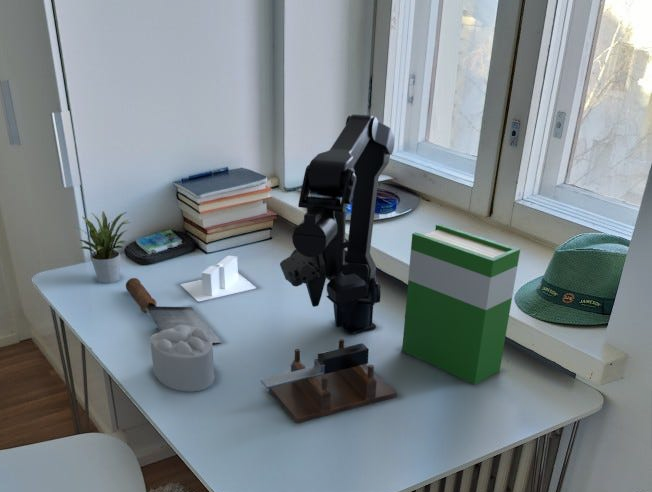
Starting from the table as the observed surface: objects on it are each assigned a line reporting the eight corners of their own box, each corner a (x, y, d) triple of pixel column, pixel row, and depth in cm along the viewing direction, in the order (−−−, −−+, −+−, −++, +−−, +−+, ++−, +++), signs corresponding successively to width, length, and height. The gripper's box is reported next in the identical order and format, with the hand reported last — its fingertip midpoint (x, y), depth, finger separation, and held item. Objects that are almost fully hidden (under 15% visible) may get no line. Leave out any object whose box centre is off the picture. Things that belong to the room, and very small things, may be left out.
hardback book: (402, 350, 154) (412, 233, 140) (426, 338, 157) (439, 223, 144) (474, 384, 142) (493, 260, 129) (499, 370, 146) (520, 249, 132)
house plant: (151, 268, 193) (144, 203, 183) (132, 291, 181) (123, 224, 172) (97, 265, 195) (88, 201, 186) (75, 288, 184) (64, 221, 175)
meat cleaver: (222, 342, 159) (221, 324, 157) (170, 354, 156) (168, 336, 153) (170, 284, 185) (168, 268, 183) (124, 293, 182) (122, 277, 179)
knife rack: (364, 366, 149) (366, 332, 145) (397, 396, 140) (400, 360, 135) (268, 390, 143) (268, 354, 139) (296, 423, 134) (296, 386, 129)
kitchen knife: (360, 357, 141) (361, 342, 140) (368, 364, 139) (369, 349, 137) (260, 381, 135) (259, 366, 134) (266, 389, 133) (266, 374, 132)
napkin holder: (236, 271, 189) (235, 249, 186) (257, 288, 181) (256, 264, 177) (179, 284, 184) (177, 261, 181) (198, 302, 175) (196, 278, 172)
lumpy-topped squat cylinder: (193, 354, 155) (190, 314, 151) (227, 380, 146) (225, 340, 141) (147, 369, 151) (142, 329, 146) (179, 398, 142) (174, 356, 137)
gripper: (263, 225, 137) (265, 305, 146) (311, 263, 123) (310, 348, 132) (319, 214, 140) (318, 293, 149) (372, 249, 126) (367, 334, 135)
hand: (326, 316), depth 141 cm, fingers open, 9 cm apart
